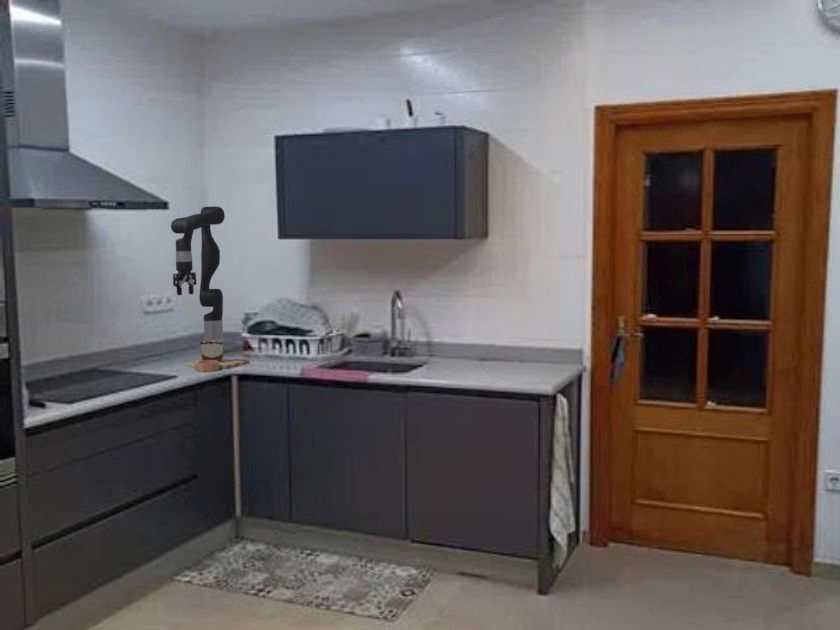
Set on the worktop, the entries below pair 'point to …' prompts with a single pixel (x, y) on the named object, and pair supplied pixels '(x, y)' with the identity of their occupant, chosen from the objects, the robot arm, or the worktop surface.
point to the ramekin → (207, 366)
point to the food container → (212, 349)
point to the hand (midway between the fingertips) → (185, 294)
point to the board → (226, 363)
